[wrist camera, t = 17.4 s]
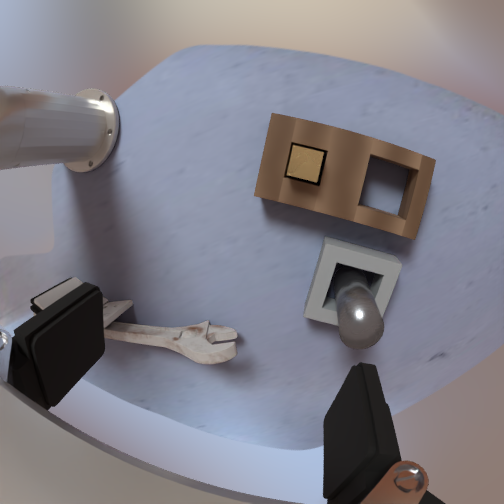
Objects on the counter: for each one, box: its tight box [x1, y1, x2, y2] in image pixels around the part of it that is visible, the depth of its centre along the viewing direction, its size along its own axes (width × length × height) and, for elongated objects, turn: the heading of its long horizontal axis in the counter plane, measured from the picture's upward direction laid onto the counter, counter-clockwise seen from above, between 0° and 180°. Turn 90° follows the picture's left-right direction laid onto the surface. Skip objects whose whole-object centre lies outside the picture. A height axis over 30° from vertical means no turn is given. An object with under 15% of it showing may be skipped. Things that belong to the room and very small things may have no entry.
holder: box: [303, 236, 402, 326], centre depth 34 cm, size 9×9×4 cm
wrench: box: [104, 320, 237, 364], centre depth 41 cm, size 8×2×30 cm
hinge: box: [31, 277, 133, 328], centre depth 40 cm, size 14×5×10 cm, turn 78°
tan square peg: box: [287, 145, 324, 182], centre depth 30 cm, size 3×3×5 cm
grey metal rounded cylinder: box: [333, 265, 384, 349], centre depth 30 cm, size 4×4×12 cm
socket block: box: [254, 113, 436, 240], centre depth 31 cm, size 18×9×4 cm, turn 78°
